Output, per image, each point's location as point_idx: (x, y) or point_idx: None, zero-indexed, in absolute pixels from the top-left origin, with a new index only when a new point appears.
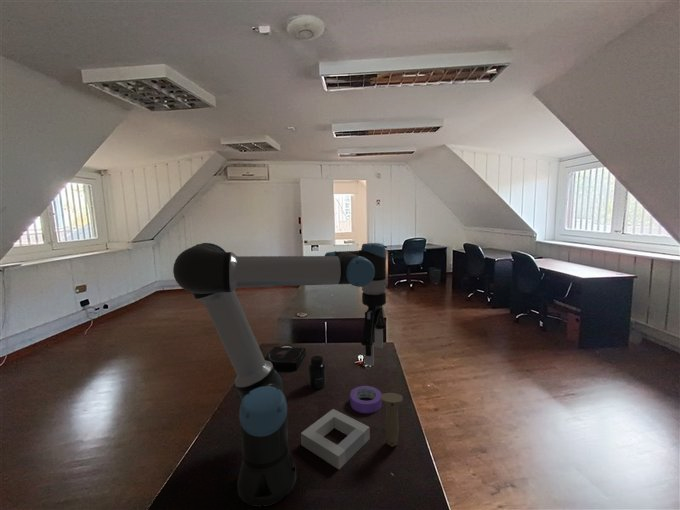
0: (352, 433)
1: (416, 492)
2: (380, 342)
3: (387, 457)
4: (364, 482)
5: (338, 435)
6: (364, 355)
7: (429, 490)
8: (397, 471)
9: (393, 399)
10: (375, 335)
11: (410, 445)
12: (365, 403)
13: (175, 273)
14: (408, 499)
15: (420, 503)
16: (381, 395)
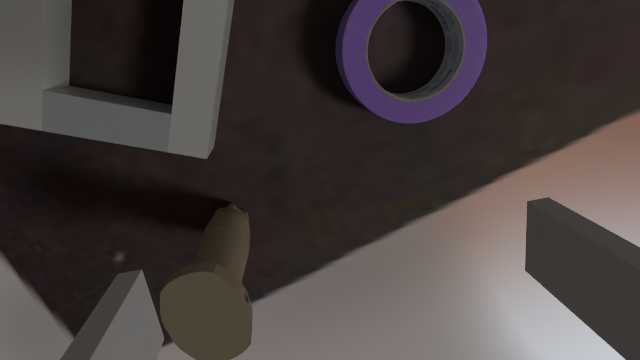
0: (135, 115)
1: None
2: (561, 283)
3: (168, 226)
4: (40, 203)
5: (167, 32)
6: (77, 335)
7: None
8: (135, 266)
9: (195, 330)
10: (629, 275)
11: (252, 266)
12: (350, 76)
13: None
14: (68, 314)
15: None
16: (195, 273)
